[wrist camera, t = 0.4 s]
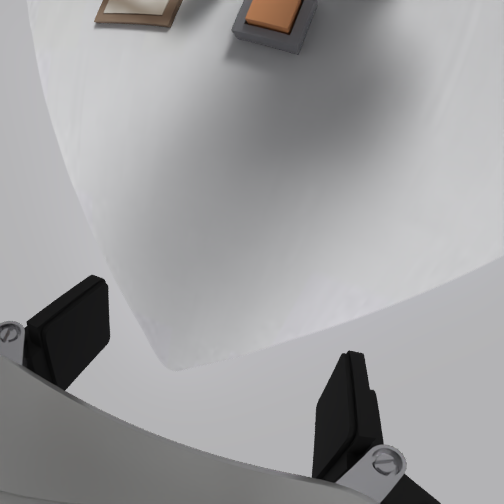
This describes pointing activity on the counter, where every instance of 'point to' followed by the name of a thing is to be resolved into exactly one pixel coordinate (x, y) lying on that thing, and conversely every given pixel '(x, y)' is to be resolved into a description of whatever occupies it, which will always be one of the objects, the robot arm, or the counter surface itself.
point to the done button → (274, 14)
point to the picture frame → (138, 12)
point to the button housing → (274, 38)
